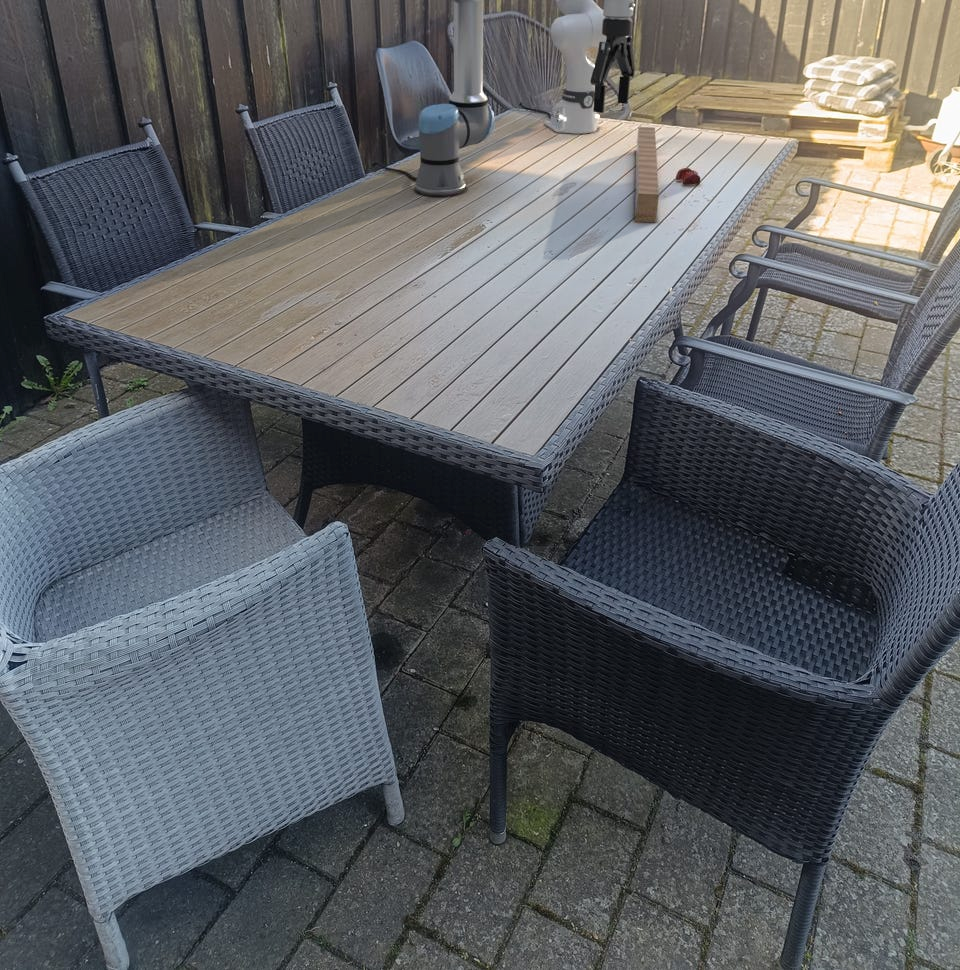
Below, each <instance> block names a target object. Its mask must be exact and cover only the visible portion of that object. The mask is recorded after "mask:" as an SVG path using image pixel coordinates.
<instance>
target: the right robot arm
mask: <svg viewBox="0 0 960 970" xmlns="http://www.w3.org/2000/svg"><path fill="white" fill-rule="evenodd" d="M555 3H556V6H557V9H558V10H559V11H560V12H561V13H562V14H563V15H562V16H559V17H556V18H555V19H554V20H553V22H552V23H551V27H550V39H551V42H552V44H553V45H554V47H556V48H557V49H558V50H559V52H560V53H561V55H562V57H563V61H564V65H565V88H563V91H561V94H562V96H561V100H560V101H558V103H556V104H555V105H554V106H553V107H552V109H551V112H549V111H546V110H540V109H536V108H531V107H527V106H525V105H524V103H523V101H520V102H519V104H518V106H519V107H521V108H522V110H523V109H524V110H526V111H530V112H534V113H539V114H543V115H544V114H545V115H548V117H549V119H547V120H545V121H544V123H543V124H544V125H545V126H546V127H548V128H549V129H551V130H552V131H554V132H556V133H562V134H563V133H564V134H565V133H566V134H580V135H581V134H591V133H594V132H596V131H597V129H598V128H600V125H599V123H598V119H599V118H600V114H598V112H593V109H594V94H595V85H592V84H591V82H590V81H591V77H592V73H593V69H594V66H595V62H593V61H592V60H591V59H589V58H588V57H587V53H586V49H588V48H599V43H600V42H606V38H607V37H606V35H603V34H602V25H603V20H604V18H605V16H604V15H603V10H604V9H602V8H601V7H600V6H599V5H598V4H597V3H596V2H595V1H594V0H555Z"/></svg>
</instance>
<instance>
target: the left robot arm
mask: <svg viewBox="0 0 960 970" xmlns="http://www.w3.org/2000/svg"><path fill="white" fill-rule="evenodd" d="M452 1H453V2H452V4H453V5H452V6H453V7H452V9H453V10H452V12H453V13H452V14H453V17H452V18H453V21H452V23H453V92H452V93H451V95H450V96H449V97H448V103H438V104H431V105H428V106H426V107H424V108H423V109H422V110H421V111H420V112H419V114H418V115H419V116H418V126H417V127H418V137H419V138H418V139H419V157H420V158H419V159H420V161H419V162H420V164H419V168H418V172H417V176H416V177H415V176H414V175H412V174H411V173H410V172H408V171H406V170H402V169H398V168H393V167H392V168H391V167H388V166H385V165H384V164H382V163H381V162H378V161H375V162H373V163H372V164H371V167H375V166H376V165H378V166H379V167H381V168H383V169H384V170H387V171H390V172H395V173H401V174H404V175H406V176H408V177H409V178H410V179H412V180H414V181H415V183H414V184H415V185H414V186H415V192H417V193H418V194H420V195H424V196H430V197H450V196H455V195H459V194H461V193H463V192H464V191H466V181H465V179H464V178H465V176H464V173H463V172H462V169H461V165H460V149H463V148H467V147H470V146H474V145H479V144H480V143H482V142H484V141H486V140H487V139H488V138H489V137H490V136H491V135H492V133H493V131H494V128H495V120H496V119H495V114H494V110H492V107H491V105H490V104H489V103H488V96H487V95H486V94H485V93H484V91H483V87H484V85H483V83H484V82H483V79H484V78H483V77H484V73H483V72H484V65H483V64H484V2H485V0H452ZM635 6H636V3H635V0H603V9H602V10H603V15H604V16H605V18H604V20H603V25H602V34H603V35H606V37H607V38H606V42H600V43H599V47H598V49H597V50H598V52H597V54H596V59H595V62H594V64H595V66H594V69H593V73H592V77H591V81H590V82H591V84H592V85H595V94H594V109H593V112H597V113H600V114H603V113H605V100H606V88H607V87H606V86H607V85H605V83H606V80H607V78H608V75H609V73H610V70H611V68H612V65H613V63H614V62H617V64H618V67H619V71H620V74H621V76H619V82H618V83H619V84H618V93H617V95H618V96H617V103H618V104H623V105H624V104H625V105H627V104H629V95H630V83H631V78H634V77H635V73H636V65H635V57H634V49H633V36H632V33H633V32H632V31H633V22H634V21H633V18H631V17H633V15H634V8H635Z"/></svg>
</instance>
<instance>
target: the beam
mask: <svg viewBox="0 0 960 970" xmlns="http://www.w3.org/2000/svg"><path fill="white" fill-rule="evenodd" d="M637 128H638V129H637V137H636V147H635V196H634V197H635V200H634V201H635V202H634V206H635V207H634V208H635V209H634V221H635V222H636V223H656V221H657V213H658V206H659V196H660V189H659V173H658V156H657V141H656V127H654V126H653V127H652V126H638V127H637Z"/></svg>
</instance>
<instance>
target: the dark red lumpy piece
mask: <svg viewBox="0 0 960 970" xmlns="http://www.w3.org/2000/svg"><path fill="white" fill-rule="evenodd" d="M675 181H682V182H681V183H682V185H683V186H689V185H690V186H691V185H700V184H701V176H700V175H699V172H698V171H696V170H693V169H691V168H689V167H683V168H681V169H679V170H678V171H677V172H676V175H675Z"/></svg>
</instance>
